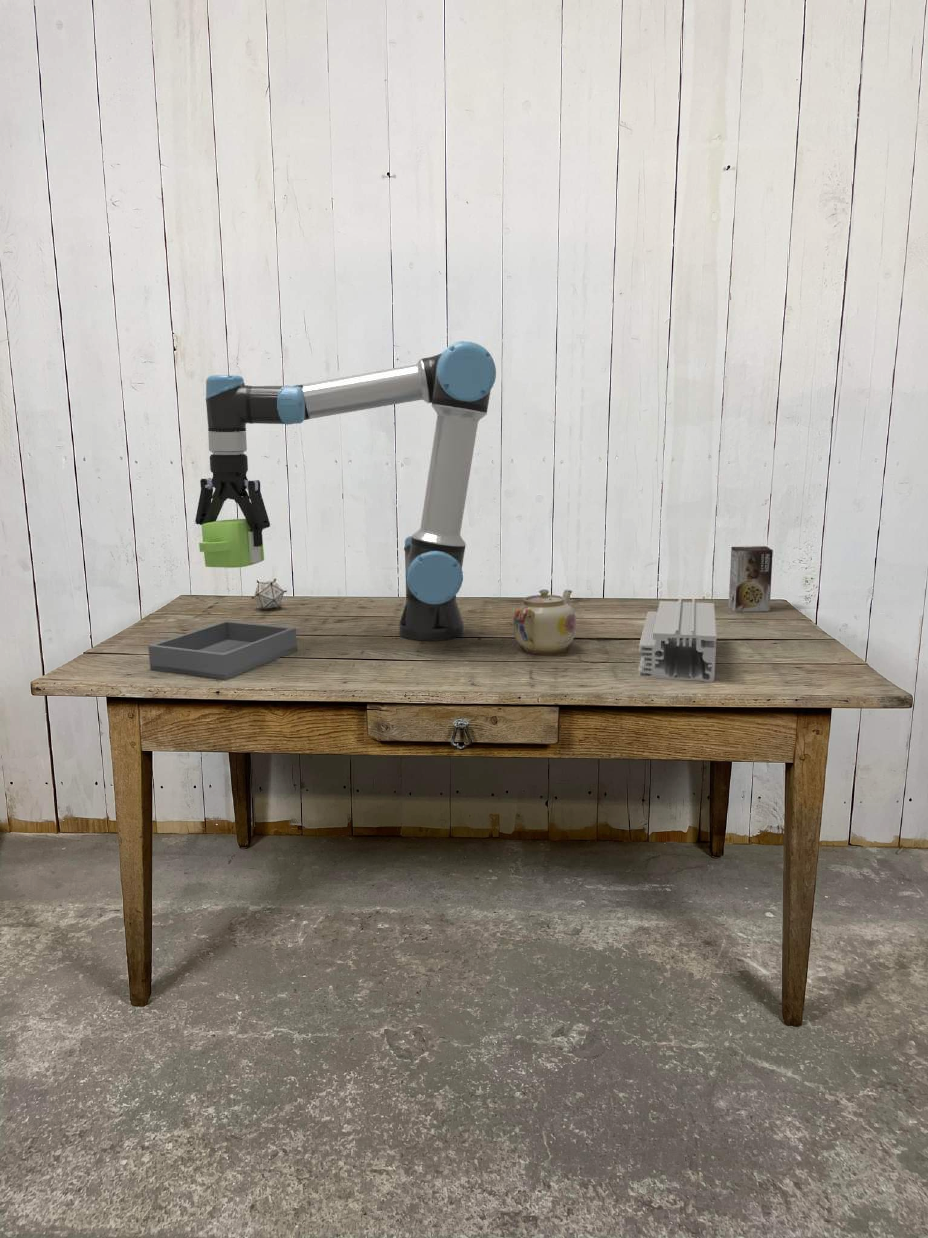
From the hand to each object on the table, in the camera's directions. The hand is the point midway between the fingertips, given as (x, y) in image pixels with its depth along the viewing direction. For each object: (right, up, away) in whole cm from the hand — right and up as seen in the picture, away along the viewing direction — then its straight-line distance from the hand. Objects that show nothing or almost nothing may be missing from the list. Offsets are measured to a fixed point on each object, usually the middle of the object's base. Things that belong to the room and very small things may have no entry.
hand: (234, 560), depth 185 cm
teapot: (+66, -19, +7) cm, 69 cm away
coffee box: (+122, -10, +43) cm, 130 cm away
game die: (-3, -10, +49) cm, 50 cm away
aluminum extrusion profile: (+93, -21, -2) cm, 95 cm away
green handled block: (0, -1, 0) cm, 1 cm away
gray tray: (-2, -21, 0) cm, 21 cm away
